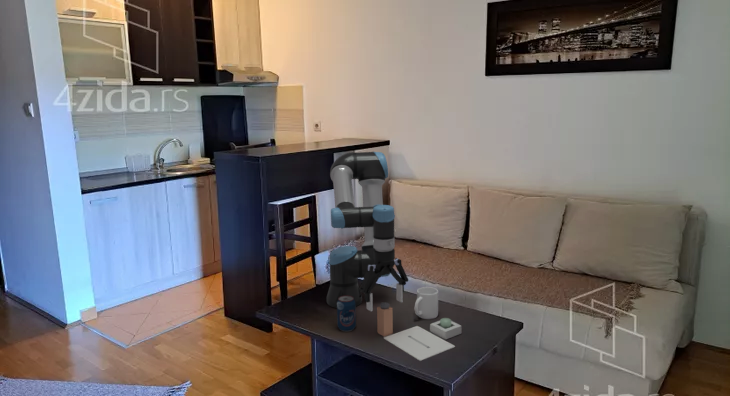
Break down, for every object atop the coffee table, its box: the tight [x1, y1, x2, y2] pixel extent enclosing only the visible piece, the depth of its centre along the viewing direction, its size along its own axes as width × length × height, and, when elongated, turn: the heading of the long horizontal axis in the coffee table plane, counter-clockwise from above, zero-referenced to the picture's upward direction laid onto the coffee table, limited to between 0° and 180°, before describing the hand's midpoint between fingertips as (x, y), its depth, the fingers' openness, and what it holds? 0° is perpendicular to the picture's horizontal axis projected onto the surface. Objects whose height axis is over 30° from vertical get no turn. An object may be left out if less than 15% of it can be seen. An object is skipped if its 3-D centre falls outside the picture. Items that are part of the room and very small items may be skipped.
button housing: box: [429, 320, 462, 341], centre depth 185 cm, size 8×8×3 cm
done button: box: [439, 317, 452, 329], centre depth 184 cm, size 4×4×3 cm
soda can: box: [336, 295, 357, 332], centre depth 189 cm, size 7×7×12 cm
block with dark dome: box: [376, 301, 394, 338], centre depth 184 cm, size 4×4×11 cm
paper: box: [383, 325, 456, 362], centre depth 178 cm, size 20×16×1 cm
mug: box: [413, 286, 439, 320], centre depth 198 cm, size 12×8×10 cm
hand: (384, 305), depth 183 cm, fingers open, 13 cm apart
